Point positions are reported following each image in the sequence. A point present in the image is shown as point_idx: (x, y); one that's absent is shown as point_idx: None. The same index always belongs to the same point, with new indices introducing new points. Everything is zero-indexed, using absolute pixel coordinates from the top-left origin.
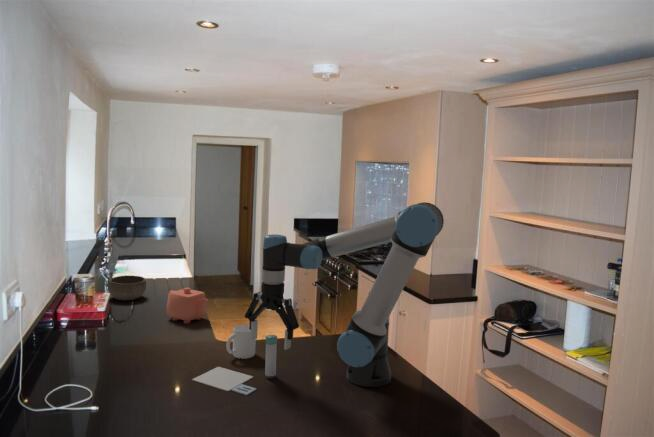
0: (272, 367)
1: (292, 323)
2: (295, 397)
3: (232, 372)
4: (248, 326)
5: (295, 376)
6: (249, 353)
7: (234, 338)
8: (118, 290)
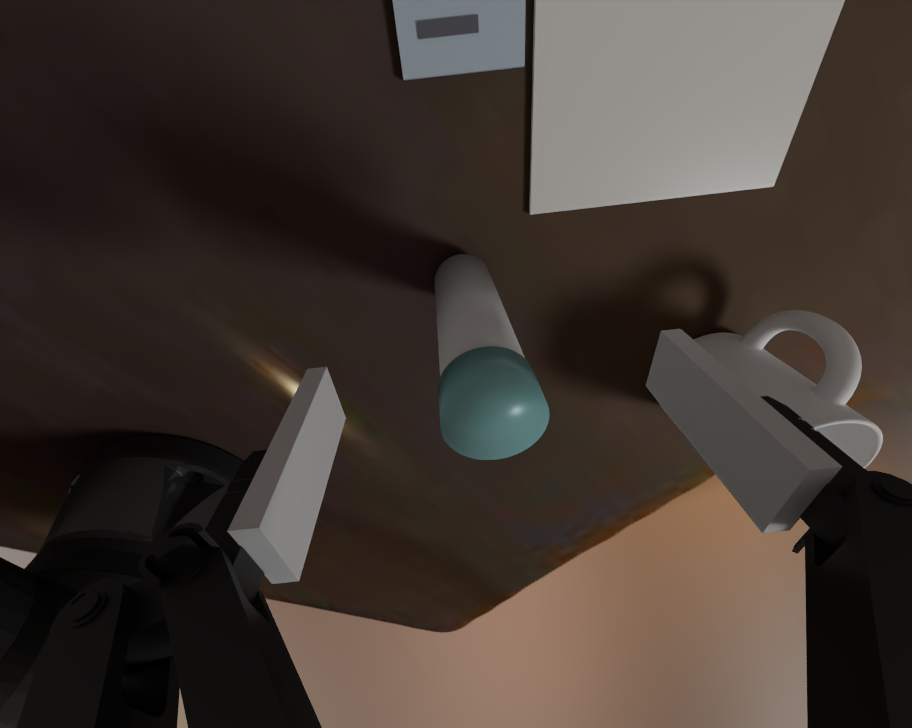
0: (439, 287)
1: (56, 694)
2: (168, 163)
3: (661, 177)
4: None
5: (378, 352)
6: None
7: (814, 386)
8: None
